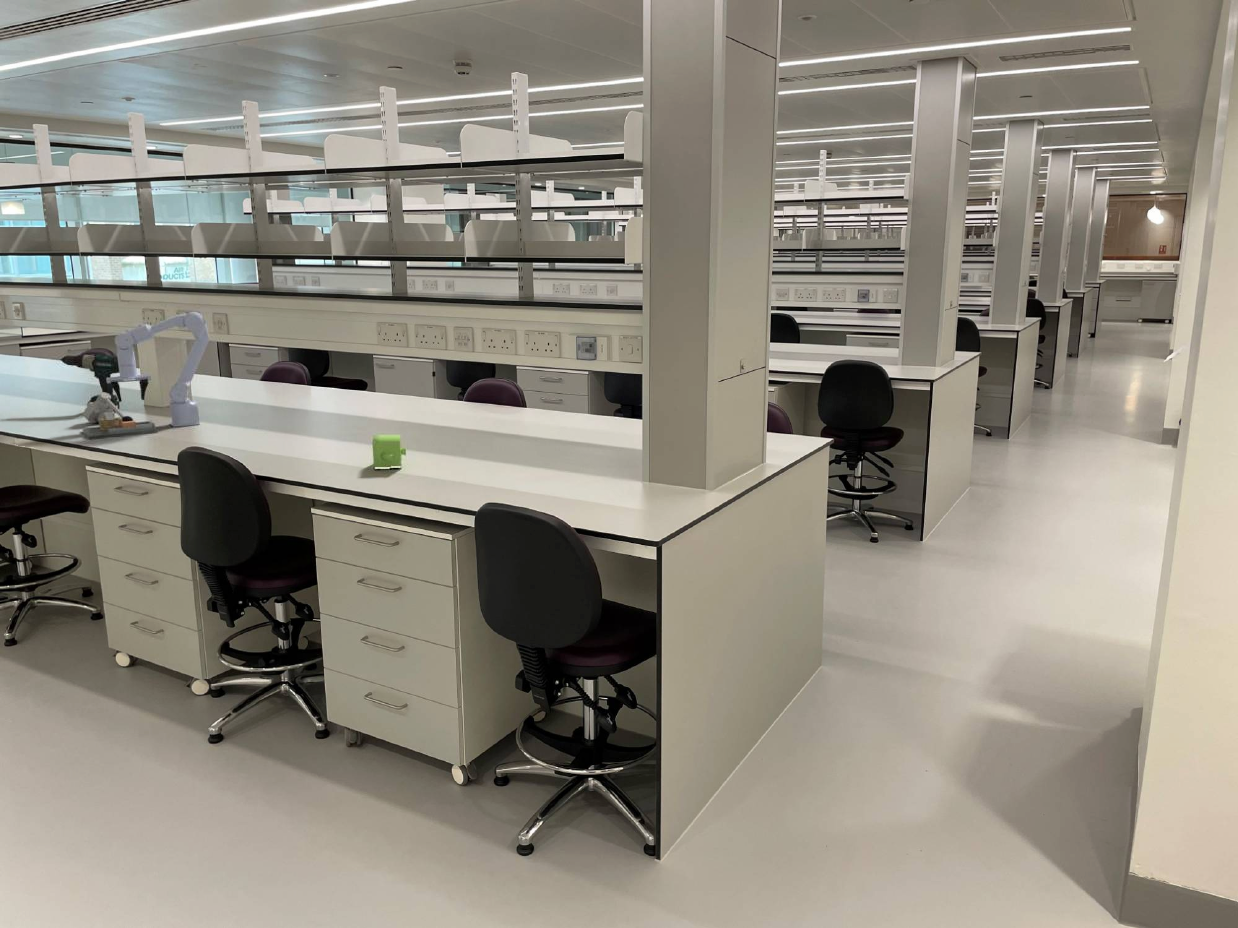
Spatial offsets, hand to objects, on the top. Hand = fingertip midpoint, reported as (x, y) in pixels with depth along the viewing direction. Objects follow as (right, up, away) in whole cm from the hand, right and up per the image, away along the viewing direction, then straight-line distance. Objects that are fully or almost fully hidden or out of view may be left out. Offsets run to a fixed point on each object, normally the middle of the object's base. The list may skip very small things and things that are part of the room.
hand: (131, 400), depth 332 cm
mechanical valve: (-12, -9, +8) cm, 17 cm away
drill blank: (-5, -10, -4) cm, 12 cm away
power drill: (-31, -3, +31) cm, 44 cm away
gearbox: (+112, -25, -51) cm, 126 cm away
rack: (-5, -10, -4) cm, 12 cm away
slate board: (-1, -12, -6) cm, 14 cm away
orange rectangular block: (+2, -11, -6) cm, 12 cm away
